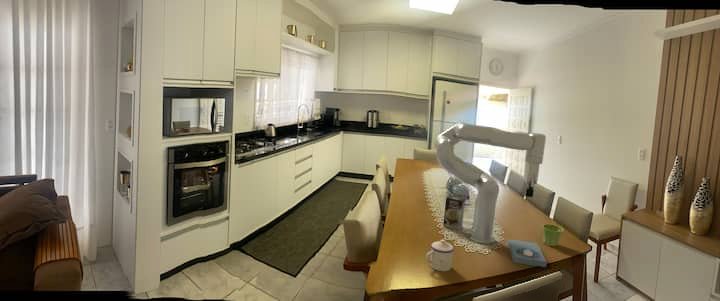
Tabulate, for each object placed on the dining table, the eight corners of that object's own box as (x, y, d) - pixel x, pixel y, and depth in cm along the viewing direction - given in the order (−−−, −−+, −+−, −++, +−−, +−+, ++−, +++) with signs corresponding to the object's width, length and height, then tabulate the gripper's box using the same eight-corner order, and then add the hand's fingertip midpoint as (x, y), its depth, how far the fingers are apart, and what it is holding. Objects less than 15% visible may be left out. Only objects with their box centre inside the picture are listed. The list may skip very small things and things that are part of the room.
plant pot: (558, 250, 181) (561, 232, 179) (537, 244, 186) (540, 227, 185) (562, 244, 188) (565, 227, 187) (542, 238, 194) (544, 222, 192)
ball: (521, 247, 171) (520, 257, 171) (524, 250, 167) (523, 260, 167) (532, 249, 170) (531, 258, 170) (534, 251, 166) (534, 261, 166)
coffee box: (442, 226, 203) (445, 197, 200) (445, 222, 208) (448, 194, 205) (459, 230, 199) (462, 200, 196) (462, 226, 204) (465, 197, 201)
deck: (507, 244, 184) (508, 239, 184) (536, 248, 181) (536, 243, 181) (513, 262, 165) (514, 256, 165) (546, 267, 162) (546, 261, 162)
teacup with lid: (443, 260, 163) (445, 234, 161) (456, 270, 155) (459, 243, 153) (419, 264, 159) (421, 237, 156) (431, 274, 150) (434, 247, 148)
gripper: (523, 155, 188) (519, 191, 192) (527, 161, 174) (522, 199, 178) (540, 157, 186) (535, 193, 189) (545, 163, 172) (539, 202, 175)
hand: (528, 196), depth 184 cm, fingers closed
